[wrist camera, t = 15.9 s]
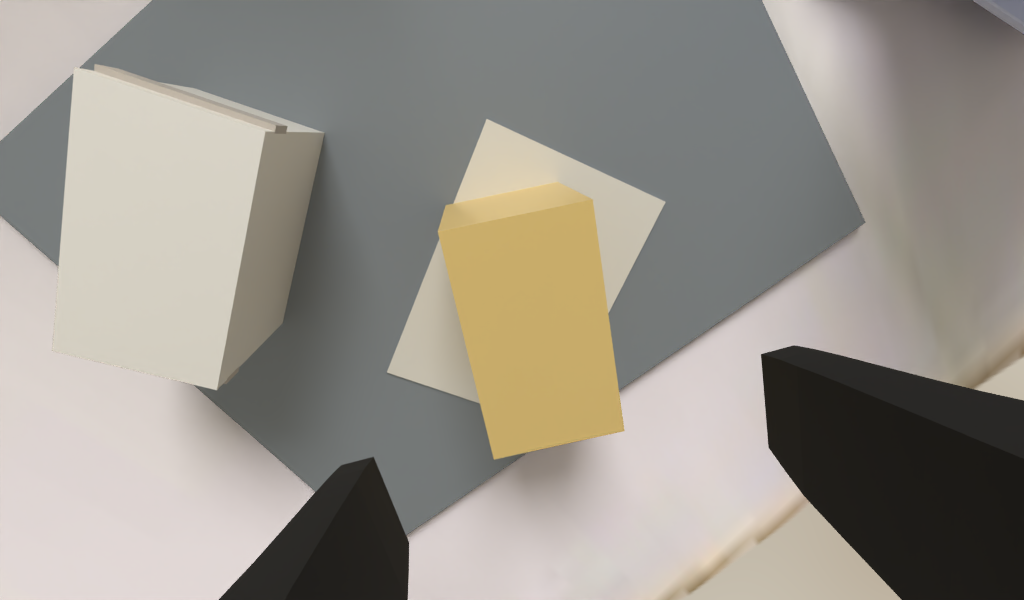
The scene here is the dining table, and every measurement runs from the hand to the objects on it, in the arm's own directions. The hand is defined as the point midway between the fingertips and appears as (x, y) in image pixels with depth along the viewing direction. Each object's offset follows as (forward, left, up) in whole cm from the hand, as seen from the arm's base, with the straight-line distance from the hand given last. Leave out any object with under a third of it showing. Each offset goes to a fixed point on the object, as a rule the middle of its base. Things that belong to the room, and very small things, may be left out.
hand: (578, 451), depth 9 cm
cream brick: (+10, +1, -10) cm, 14 cm away
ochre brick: (0, 0, -10) cm, 10 cm away
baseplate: (+3, -2, -10) cm, 11 cm away
